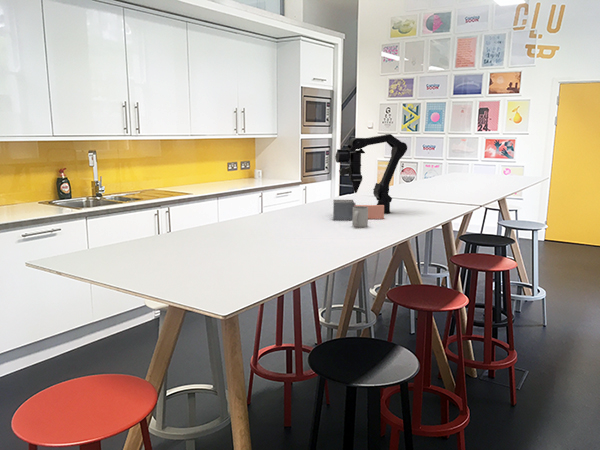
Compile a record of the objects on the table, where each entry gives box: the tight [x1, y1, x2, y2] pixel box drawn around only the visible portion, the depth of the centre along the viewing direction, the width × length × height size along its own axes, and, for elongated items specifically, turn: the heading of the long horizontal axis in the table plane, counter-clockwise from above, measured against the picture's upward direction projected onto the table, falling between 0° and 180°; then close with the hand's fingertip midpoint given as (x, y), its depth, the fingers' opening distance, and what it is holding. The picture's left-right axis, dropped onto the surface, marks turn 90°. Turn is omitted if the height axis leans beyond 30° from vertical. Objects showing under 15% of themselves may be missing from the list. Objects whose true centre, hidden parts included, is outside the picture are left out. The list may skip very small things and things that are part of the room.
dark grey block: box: [332, 199, 357, 221], centre depth 257 cm, size 11×10×9 cm
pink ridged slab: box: [354, 204, 385, 220], centre depth 257 cm, size 17×2×7 cm, turn 87°
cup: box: [351, 206, 369, 229], centre depth 237 cm, size 7×10×9 cm
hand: (354, 191), depth 268 cm, fingers open, 9 cm apart
